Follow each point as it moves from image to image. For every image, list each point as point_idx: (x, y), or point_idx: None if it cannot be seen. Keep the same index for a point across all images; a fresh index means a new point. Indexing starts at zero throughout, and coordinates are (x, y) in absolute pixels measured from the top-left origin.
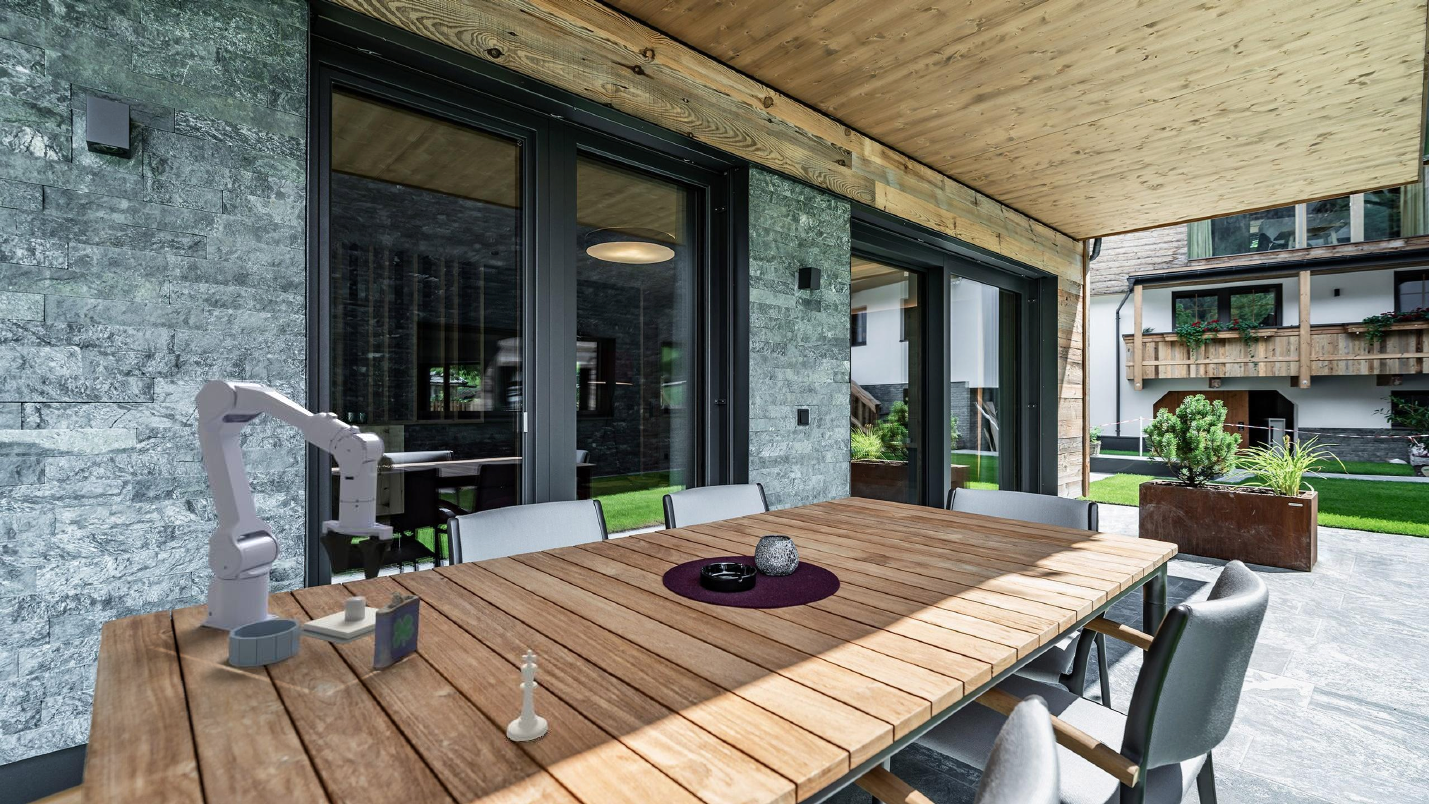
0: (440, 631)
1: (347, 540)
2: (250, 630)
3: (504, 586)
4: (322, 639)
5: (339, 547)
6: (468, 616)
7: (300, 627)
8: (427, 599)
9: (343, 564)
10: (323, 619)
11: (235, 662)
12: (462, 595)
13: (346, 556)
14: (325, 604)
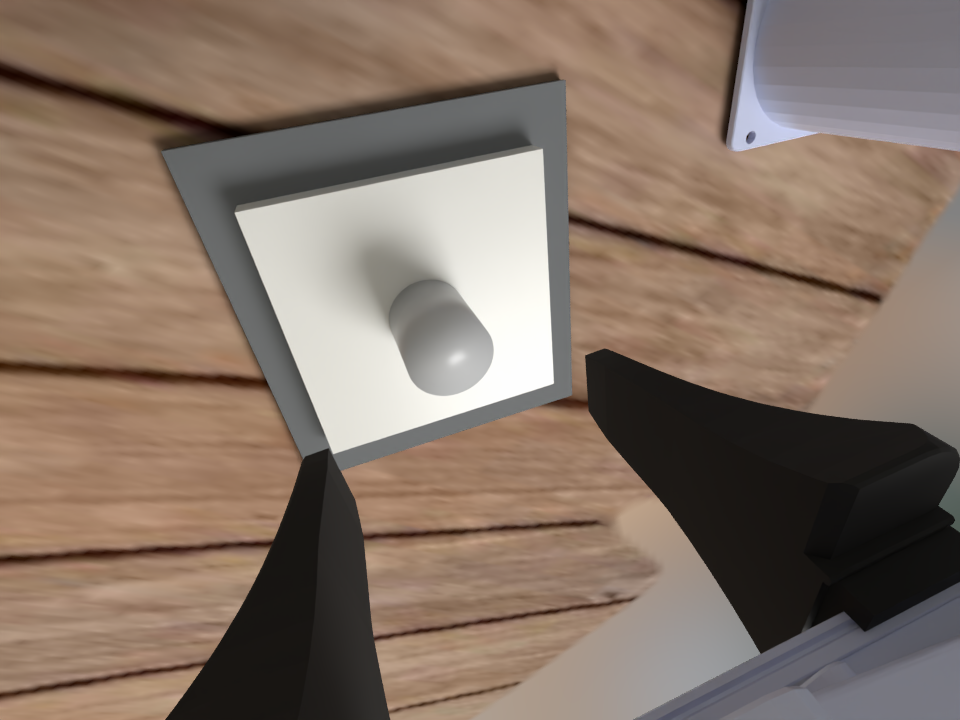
0: (84, 494)
1: (741, 584)
2: None
3: (416, 687)
4: (321, 123)
5: (715, 497)
6: (205, 589)
7: (560, 143)
8: (486, 538)
9: (617, 429)
10: (520, 226)
11: None
12: (436, 607)
13: (651, 479)
14: (711, 324)
